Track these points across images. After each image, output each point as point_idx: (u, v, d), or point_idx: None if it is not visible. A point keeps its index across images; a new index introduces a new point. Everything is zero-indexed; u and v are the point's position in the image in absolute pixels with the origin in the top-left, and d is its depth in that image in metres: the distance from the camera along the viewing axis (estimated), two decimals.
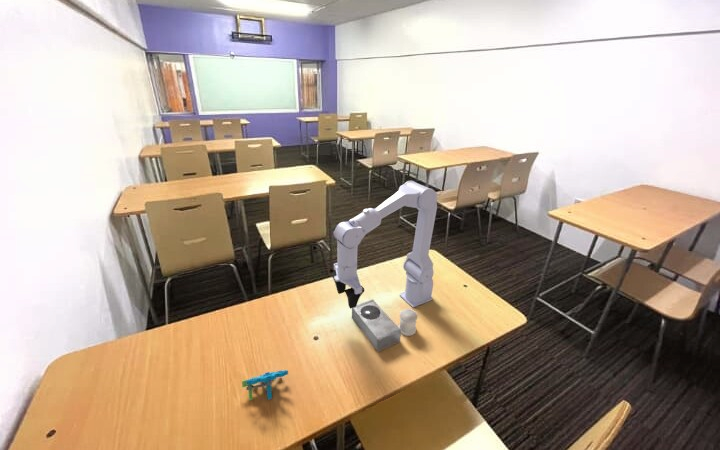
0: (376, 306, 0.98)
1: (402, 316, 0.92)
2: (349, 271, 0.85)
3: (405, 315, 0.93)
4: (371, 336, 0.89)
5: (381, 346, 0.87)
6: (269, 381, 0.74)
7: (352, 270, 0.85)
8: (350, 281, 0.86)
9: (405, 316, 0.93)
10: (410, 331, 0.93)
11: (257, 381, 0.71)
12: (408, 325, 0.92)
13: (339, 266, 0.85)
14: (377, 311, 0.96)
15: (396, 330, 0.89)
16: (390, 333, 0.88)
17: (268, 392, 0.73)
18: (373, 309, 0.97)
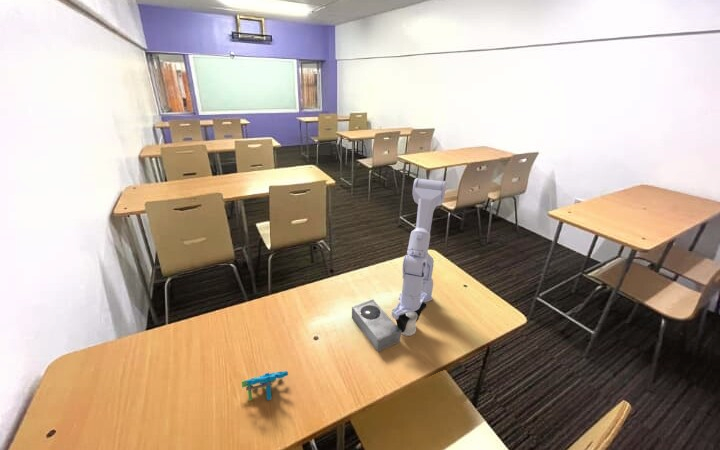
0: (376, 306, 0.98)
1: None
2: (403, 297, 0.89)
3: None
4: (371, 336, 0.89)
5: (381, 346, 0.87)
6: (269, 382, 0.74)
7: (405, 298, 0.88)
8: (402, 306, 0.90)
9: None
10: (410, 331, 0.93)
11: (257, 382, 0.71)
12: (408, 325, 0.92)
13: None
14: (377, 311, 0.96)
15: (396, 330, 0.89)
16: (390, 333, 0.88)
17: (268, 393, 0.73)
18: (373, 309, 0.97)
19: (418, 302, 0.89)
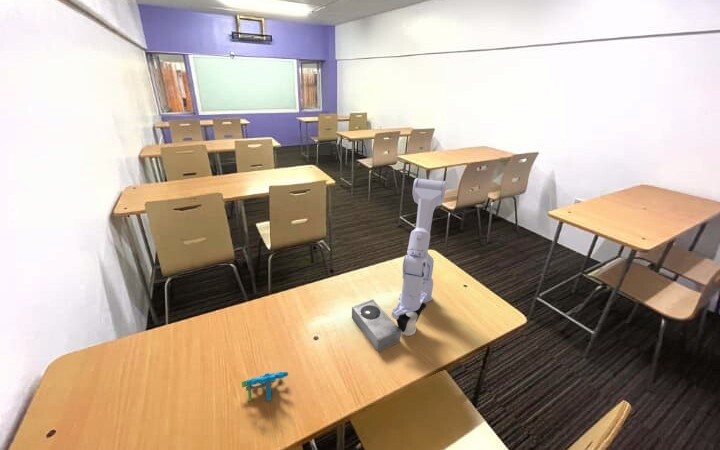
0: (376, 306, 0.98)
1: None
2: (403, 297, 0.89)
3: None
4: (371, 336, 0.89)
5: (381, 346, 0.87)
6: (269, 382, 0.74)
7: (405, 298, 0.88)
8: (402, 306, 0.90)
9: None
10: (410, 331, 0.93)
11: (256, 382, 0.71)
12: (408, 325, 0.92)
13: None
14: (377, 311, 0.96)
15: (396, 330, 0.89)
16: (390, 333, 0.88)
17: (267, 393, 0.73)
18: (373, 309, 0.97)
19: (418, 302, 0.89)
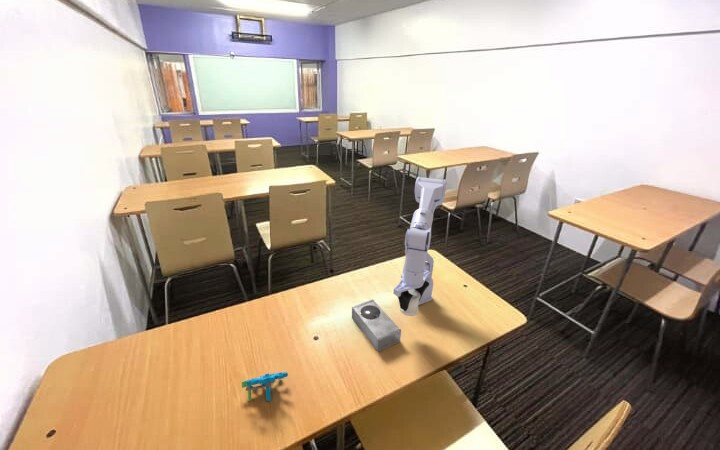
0: (376, 306, 0.98)
1: None
2: (406, 274, 0.85)
3: None
4: (371, 336, 0.89)
5: (381, 346, 0.87)
6: (268, 383, 0.74)
7: (408, 275, 0.84)
8: (404, 283, 0.86)
9: None
10: (412, 311, 0.89)
11: (256, 382, 0.71)
12: (411, 304, 0.88)
13: None
14: (377, 311, 0.96)
15: (396, 330, 0.89)
16: (390, 333, 0.88)
17: (267, 394, 0.73)
18: (373, 309, 0.97)
19: (421, 279, 0.85)
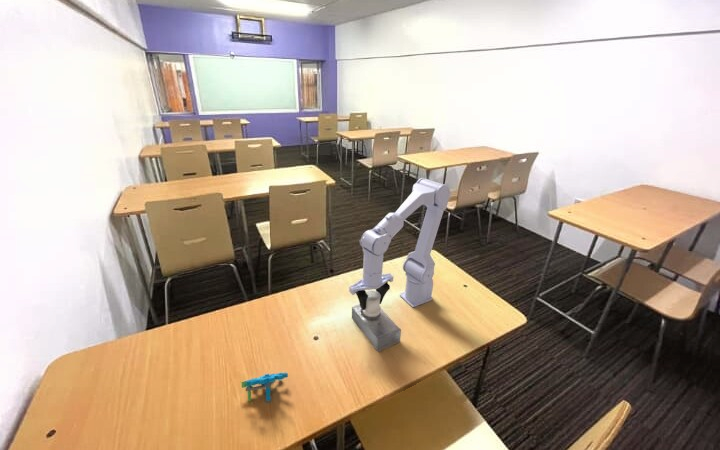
0: None
1: None
2: (363, 274, 0.89)
3: (368, 296, 0.93)
4: (371, 336, 0.89)
5: (381, 346, 0.87)
6: (268, 383, 0.73)
7: (364, 275, 0.88)
8: (362, 283, 0.90)
9: None
10: (372, 312, 0.92)
11: (256, 383, 0.71)
12: (370, 306, 0.91)
13: None
14: None
15: (396, 330, 0.89)
16: (390, 333, 0.88)
17: (267, 394, 0.73)
18: None
19: (377, 281, 0.88)
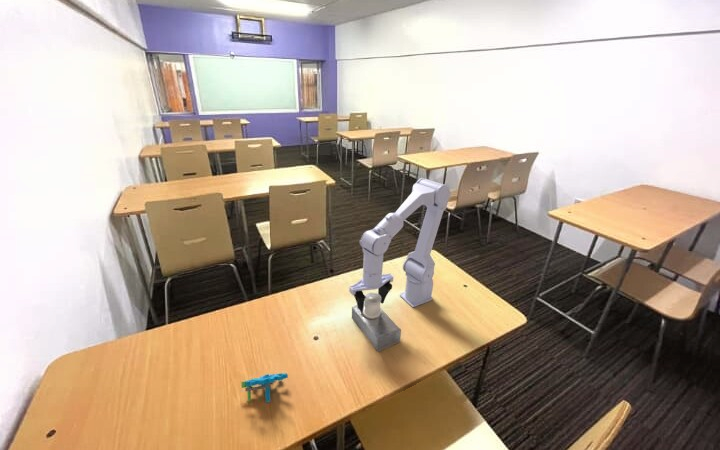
0: None
1: (365, 298, 0.93)
2: (363, 274, 0.89)
3: (369, 298, 0.93)
4: (371, 336, 0.89)
5: (381, 346, 0.87)
6: (268, 383, 0.73)
7: (364, 275, 0.88)
8: (362, 283, 0.90)
9: (368, 298, 0.92)
10: (373, 314, 0.93)
11: (255, 383, 0.71)
12: (370, 307, 0.92)
13: None
14: None
15: (396, 330, 0.89)
16: (390, 333, 0.88)
17: (266, 395, 0.73)
18: None
19: (377, 281, 0.88)
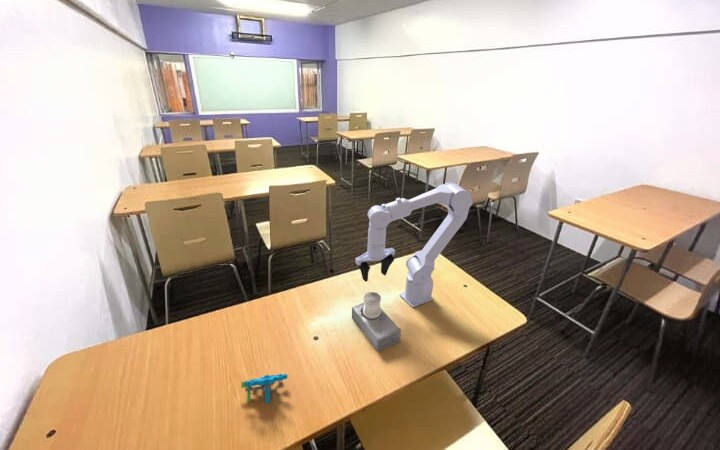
0: None
1: (365, 298, 0.92)
2: (368, 247, 0.97)
3: (368, 298, 0.93)
4: (371, 336, 0.89)
5: (381, 346, 0.87)
6: (268, 384, 0.73)
7: (369, 248, 0.97)
8: (366, 255, 0.99)
9: (368, 299, 0.92)
10: (373, 314, 0.93)
11: (255, 383, 0.70)
12: (370, 308, 0.92)
13: None
14: None
15: (396, 330, 0.89)
16: (390, 333, 0.88)
17: (266, 395, 0.73)
18: None
19: (381, 253, 0.97)
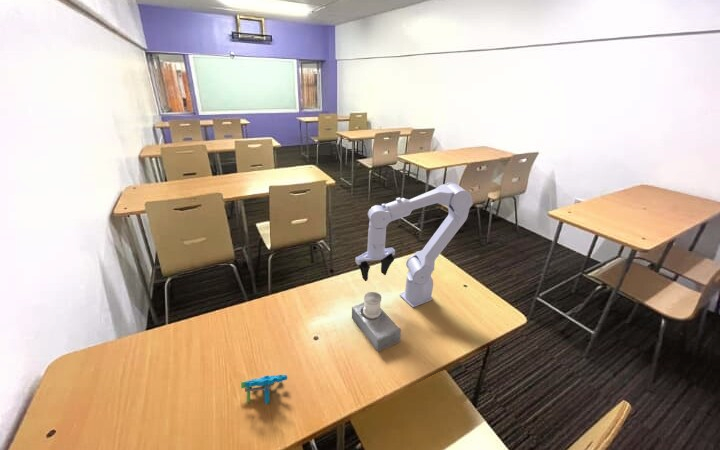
0: None
1: (365, 298, 0.93)
2: (368, 246, 0.98)
3: (369, 297, 0.93)
4: (371, 336, 0.89)
5: (381, 346, 0.87)
6: (267, 385, 0.73)
7: (369, 247, 0.97)
8: (366, 255, 0.99)
9: (368, 298, 0.92)
10: (373, 314, 0.93)
11: (255, 384, 0.70)
12: (371, 307, 0.92)
13: None
14: None
15: (396, 330, 0.89)
16: (390, 333, 0.88)
17: (266, 396, 0.72)
18: None
19: (381, 252, 0.97)
